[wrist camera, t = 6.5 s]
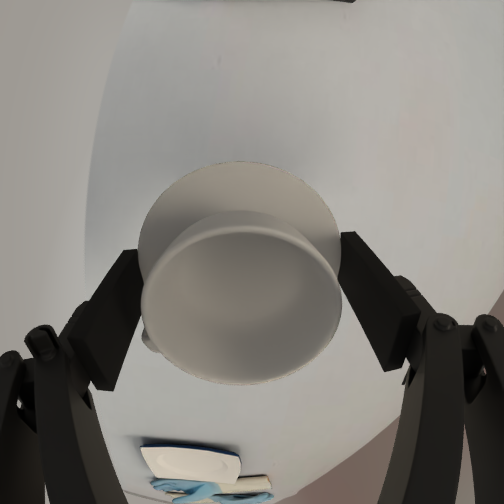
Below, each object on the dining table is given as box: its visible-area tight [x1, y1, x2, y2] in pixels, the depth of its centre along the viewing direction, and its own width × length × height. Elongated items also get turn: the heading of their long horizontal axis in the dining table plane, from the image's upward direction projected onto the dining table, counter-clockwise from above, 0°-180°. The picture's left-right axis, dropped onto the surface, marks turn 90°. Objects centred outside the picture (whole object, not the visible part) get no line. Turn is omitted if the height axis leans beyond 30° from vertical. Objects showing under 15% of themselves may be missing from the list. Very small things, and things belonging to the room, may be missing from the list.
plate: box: [140, 444, 241, 484], centre depth 49 cm, size 20×20×3 cm
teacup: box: [138, 161, 342, 385], centre depth 13 cm, size 10×10×5 cm
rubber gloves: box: [151, 476, 274, 504], centre depth 59 cm, size 27×33×6 cm
